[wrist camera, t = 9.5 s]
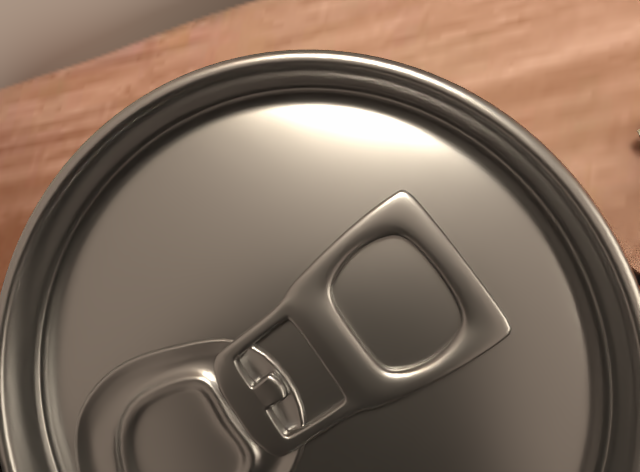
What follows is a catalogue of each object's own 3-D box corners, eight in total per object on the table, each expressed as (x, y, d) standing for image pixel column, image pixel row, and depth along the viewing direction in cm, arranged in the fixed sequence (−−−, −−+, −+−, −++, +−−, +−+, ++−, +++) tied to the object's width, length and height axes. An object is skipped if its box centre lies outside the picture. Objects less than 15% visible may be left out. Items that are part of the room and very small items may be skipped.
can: (247, 260, 17) (-161, 294, 5) (399, 144, 16) (364, -171, 4) (358, 420, 16) (198, 942, 4) (526, 307, 15) (973, 538, 3)
